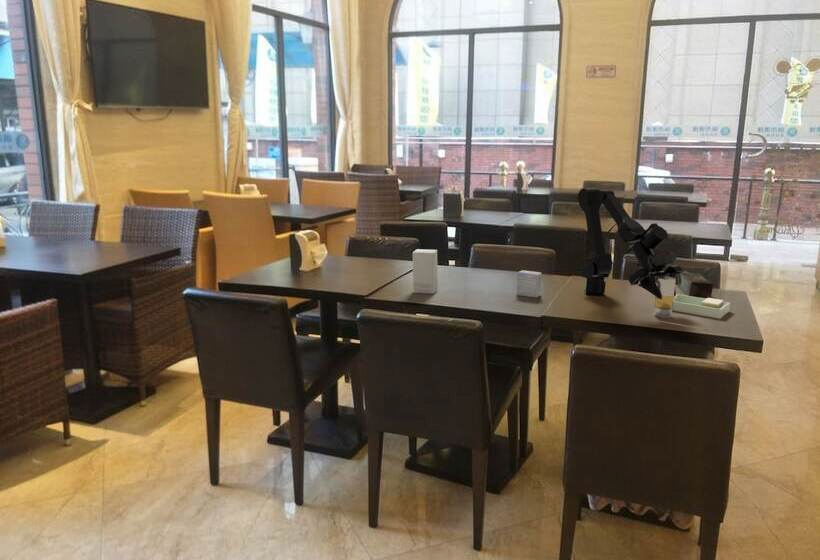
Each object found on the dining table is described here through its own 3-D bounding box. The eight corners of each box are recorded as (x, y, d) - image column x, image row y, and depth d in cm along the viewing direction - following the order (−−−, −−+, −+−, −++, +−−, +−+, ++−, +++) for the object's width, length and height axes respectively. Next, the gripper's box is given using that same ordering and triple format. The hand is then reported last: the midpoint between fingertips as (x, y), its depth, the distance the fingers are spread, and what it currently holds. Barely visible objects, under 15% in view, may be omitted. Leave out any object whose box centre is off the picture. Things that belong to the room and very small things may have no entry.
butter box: (700, 313, 213) (701, 301, 212) (706, 308, 218) (707, 297, 217) (716, 316, 210) (718, 304, 209) (722, 311, 215) (723, 300, 214)
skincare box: (437, 290, 241) (438, 249, 237) (433, 294, 235) (434, 252, 231) (416, 288, 243) (416, 248, 239) (411, 292, 237) (412, 251, 233)
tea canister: (654, 318, 208) (658, 279, 205) (651, 314, 213) (655, 275, 210) (673, 320, 207) (677, 280, 204) (669, 315, 212) (673, 276, 209)
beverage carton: (698, 287, 251) (700, 271, 249) (712, 300, 233) (714, 282, 231) (676, 286, 252) (678, 270, 251) (688, 299, 234) (690, 281, 232)
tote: (665, 310, 218) (666, 300, 217) (676, 303, 226) (677, 294, 225) (720, 320, 207) (721, 309, 207) (728, 312, 216) (730, 302, 215)
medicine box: (540, 295, 235) (542, 272, 233) (536, 298, 232) (538, 274, 230) (520, 292, 239) (521, 269, 237) (516, 295, 235) (517, 272, 233)
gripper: (638, 245, 204) (661, 286, 197) (681, 241, 212) (705, 281, 205) (618, 264, 213) (640, 304, 206) (660, 260, 221) (682, 299, 213)
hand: (667, 297), depth 207 cm, fingers closed on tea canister, 6 cm apart
